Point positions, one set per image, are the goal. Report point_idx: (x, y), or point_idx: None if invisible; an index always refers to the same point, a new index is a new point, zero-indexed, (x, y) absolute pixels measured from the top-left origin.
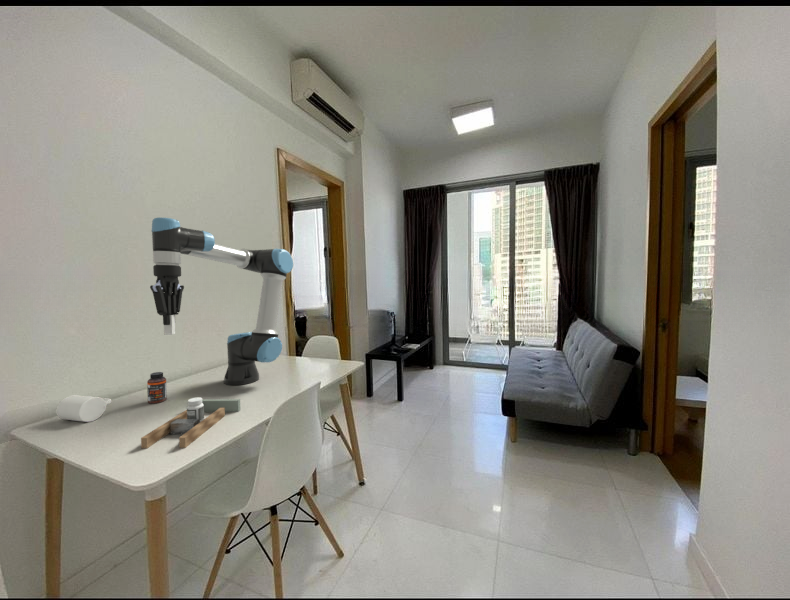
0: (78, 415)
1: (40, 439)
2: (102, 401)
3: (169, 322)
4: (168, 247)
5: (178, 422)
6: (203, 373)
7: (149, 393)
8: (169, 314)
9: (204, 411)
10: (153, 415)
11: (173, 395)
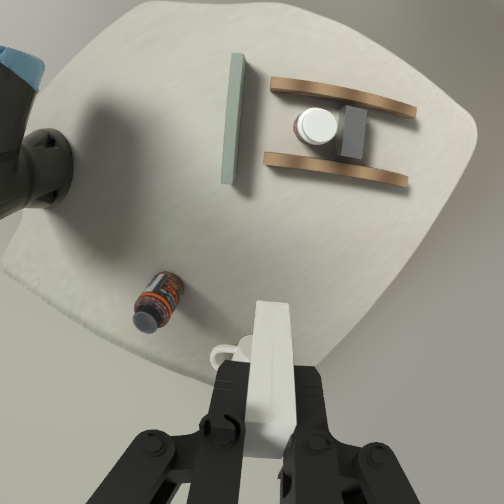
0: None
1: (322, 353)
2: (244, 351)
3: (294, 380)
4: None
5: (359, 144)
6: (30, 278)
7: (177, 304)
8: (320, 437)
9: (238, 140)
10: (248, 248)
11: (135, 271)
